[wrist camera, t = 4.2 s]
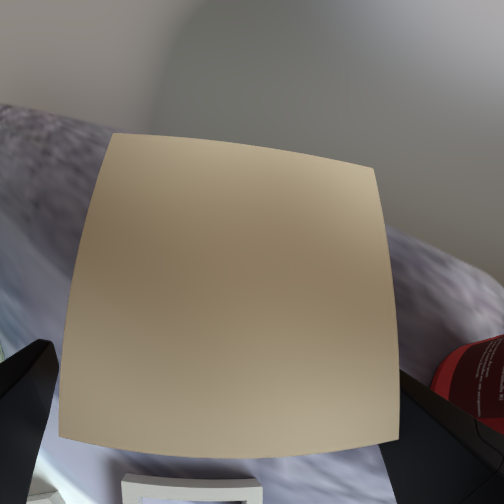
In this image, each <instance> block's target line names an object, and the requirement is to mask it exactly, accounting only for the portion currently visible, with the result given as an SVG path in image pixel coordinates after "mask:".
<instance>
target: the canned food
mask: <svg viewBox="0 0 504 504" xmlns="http://www.w3.org/2000/svg"><path fill="white" fill-rule="evenodd" d="M430 389H431V390H432V391H434V392H436V393H437V394H439V395H440V396H442V397H443V398H445V399H446V400H448V401H449V402H451V403H452V404H454V405H456V406H457V407H459V408H460V409H462V410H463V411H465V412H466V413H468V414H470V415H471V416H473V418H476V419H477V420H479V421H480V422H482V423H484V424H485V425H487V426H489V427H490V428H492V429H493V430H495V431H497V432H499V433H501V434H503V435H504V334H503V335H499V336H496V337H493V338H489V339H486V340H482V341H478V342H475V343H471V344H467V345H464V346H462V347H459V348H458V349H456V350H455V351H453V352H452V353H451V354H449V355H448V356H447V357H446V358H445V359H444V360H443V361H442V362H441V364H440V365H439V367H438V369H437V370H436V373H435V375H434V377H433V380H432V384H431V387H430Z"/></svg>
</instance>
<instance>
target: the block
mask: <svg viewBox="0 0 504 504" xmlns="http://www.w3.org/2000/svg"><path fill="white" fill-rule="evenodd" d="M399 409H400V384H399V352H398V334H397V320H396V308H395V298H394V288H393V280H392V271H391V264H390V257H389V250H388V243H387V237H386V231H385V225H384V219H383V214H382V208H381V203H380V198H379V193H378V188H377V184H376V179H375V174H374V170H373V168H369V167H365V166H360V165H356V164H352V163H347V162H342V161H338V160H332V159H327V158H323V157H318V156H312V155H307V154H302V153H295V152H290V151H284V150H278V149H271V148H265V147H258V146H252V145H244V144H237V143H229V142H221V141H213V140H203V139H193V138H183V137H170V136H157V135H141V134H120V133H113V135H112V137H111V140H110V143H109V146H108V148H107V151H106V154H105V157H104V160H103V163H102V166H101V169H100V172H99V175H98V178H97V181H96V185H95V188H94V191H93V195H92V198H91V202H90V205H89V209H88V212H87V216H86V220H85V224H84V228H83V232H82V236H81V240H80V244H79V249H78V253H77V258H76V263H75V268H74V273H73V278H72V283H71V289H70V295H69V301H68V307H67V314H66V321H65V329H64V338H63V347H62V358H61V371H60V388H59V437H63V438H67V439H71V440H75V441H80V442H84V443H89V444H94V445H99V446H104V447H109V448H115V449H121V450H127V451H134V452H141V453H149V454H158V455H168V456H180V457H196V458H271V457H287V456H299V455H309V454H318V453H326V452H334V451H341V450H347V449H353V448H359V447H364V446H370V445H375V444H380V443H384V442H389V441H393V440H398V439H399Z"/></svg>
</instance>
